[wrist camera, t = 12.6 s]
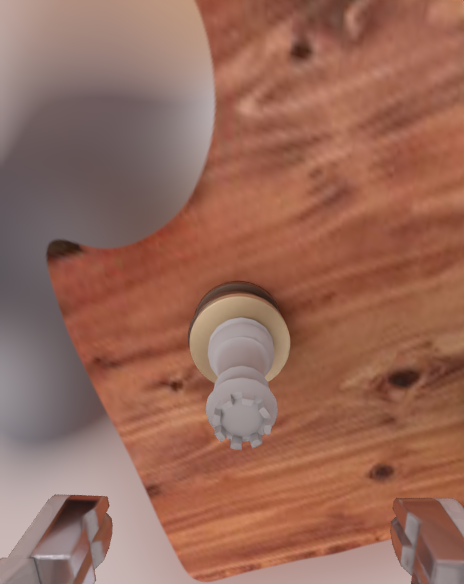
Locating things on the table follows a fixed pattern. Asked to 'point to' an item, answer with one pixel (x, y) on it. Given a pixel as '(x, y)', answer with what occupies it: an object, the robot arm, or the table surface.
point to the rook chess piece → (241, 382)
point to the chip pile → (230, 305)
